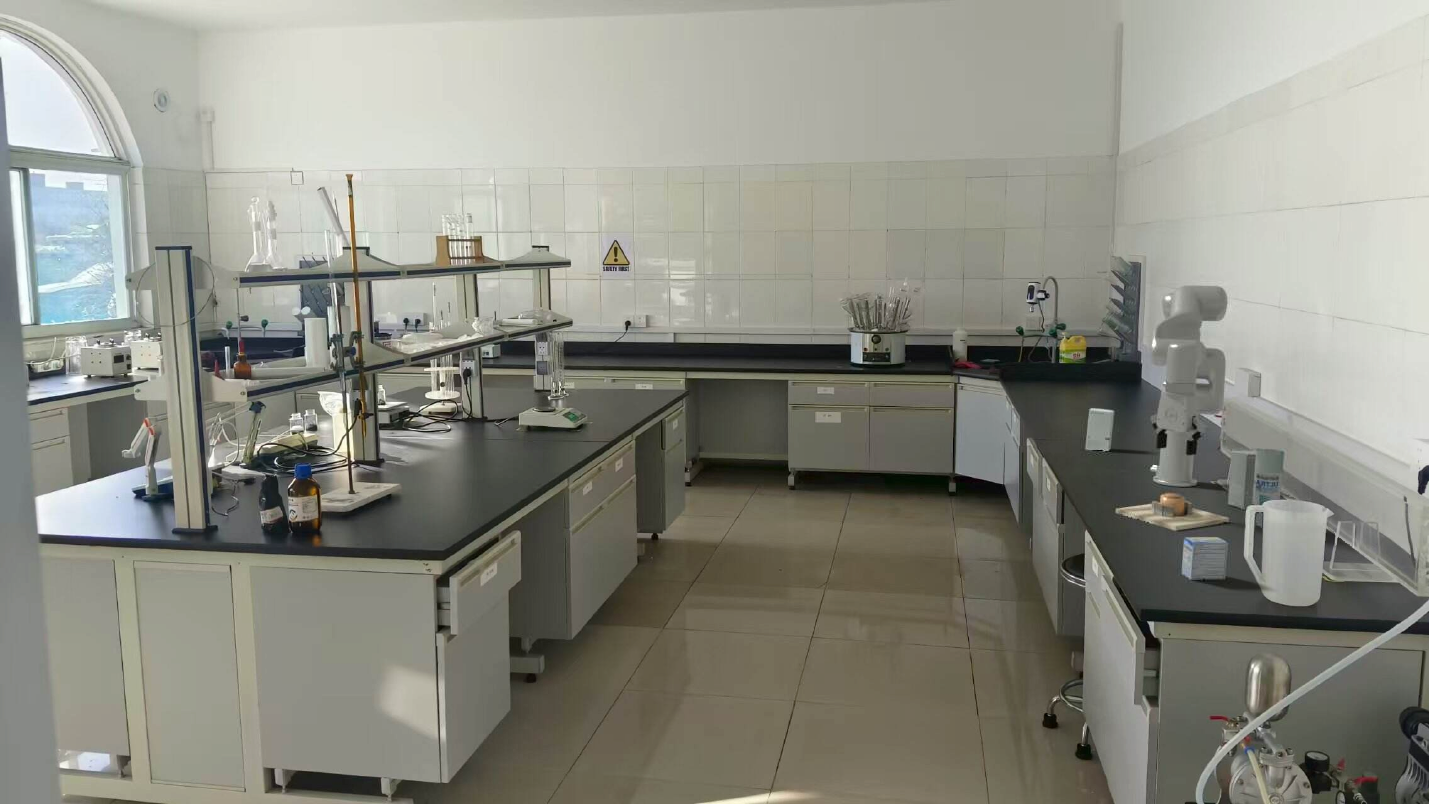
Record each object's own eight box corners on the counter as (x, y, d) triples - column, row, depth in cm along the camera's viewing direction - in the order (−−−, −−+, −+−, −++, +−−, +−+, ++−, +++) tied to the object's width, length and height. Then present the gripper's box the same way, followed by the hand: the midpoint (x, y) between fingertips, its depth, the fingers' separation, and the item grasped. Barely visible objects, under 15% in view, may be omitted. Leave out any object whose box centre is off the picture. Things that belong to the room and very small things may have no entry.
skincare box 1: (1085, 450, 377) (1087, 409, 375) (1087, 447, 382) (1090, 407, 380) (1109, 452, 373) (1112, 411, 371) (1111, 449, 379) (1114, 409, 376)
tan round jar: (1154, 511, 284) (1155, 493, 283) (1170, 509, 287) (1171, 491, 286) (1172, 516, 279) (1174, 498, 278) (1188, 514, 281) (1189, 496, 281)
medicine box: (1215, 573, 234) (1218, 536, 233) (1225, 580, 230) (1228, 542, 229) (1180, 574, 234) (1183, 536, 233) (1190, 580, 230) (1193, 542, 228)
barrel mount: (1115, 513, 288) (1116, 498, 287) (1167, 505, 296) (1168, 491, 296) (1175, 530, 270) (1176, 514, 269) (1228, 522, 278) (1229, 506, 278)
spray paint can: (1278, 524, 277) (1284, 450, 274) (1277, 529, 271) (1283, 454, 268) (1251, 520, 280) (1257, 447, 277) (1249, 526, 274) (1255, 451, 271)
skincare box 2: (1243, 510, 291) (1248, 454, 289) (1225, 504, 298) (1229, 449, 296) (1268, 508, 293) (1273, 453, 291) (1249, 502, 300) (1253, 448, 298)
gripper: (1144, 385, 284) (1140, 446, 287) (1197, 393, 269) (1192, 458, 271) (1164, 383, 287) (1159, 444, 290) (1217, 392, 272) (1213, 456, 275)
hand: (1175, 451), depth 281 cm, fingers open, 9 cm apart
